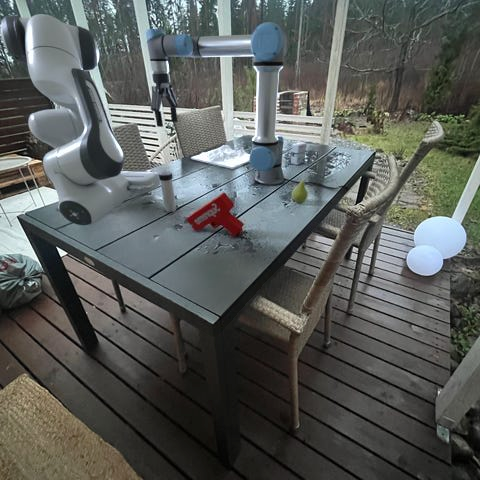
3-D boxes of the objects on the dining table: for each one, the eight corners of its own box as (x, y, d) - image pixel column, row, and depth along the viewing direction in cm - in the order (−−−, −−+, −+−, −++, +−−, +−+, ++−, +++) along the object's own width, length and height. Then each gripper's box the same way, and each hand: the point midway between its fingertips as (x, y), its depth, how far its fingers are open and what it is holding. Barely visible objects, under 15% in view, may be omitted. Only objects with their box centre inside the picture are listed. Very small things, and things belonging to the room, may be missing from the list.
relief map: (233, 169, 161) (232, 160, 158) (191, 159, 178) (190, 151, 176) (258, 158, 179) (258, 150, 176) (218, 150, 197) (217, 142, 194)
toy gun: (250, 225, 97) (225, 191, 93) (246, 231, 93) (220, 196, 89) (215, 244, 107) (191, 214, 103) (210, 250, 103) (185, 219, 99)
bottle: (163, 210, 115) (156, 174, 107) (170, 206, 119) (164, 171, 110) (171, 213, 113) (165, 176, 105) (178, 208, 117) (173, 173, 108)
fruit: (288, 200, 123) (290, 174, 116) (302, 197, 125) (305, 172, 119) (296, 206, 118) (299, 179, 111) (310, 203, 120) (314, 177, 114)
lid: (156, 179, 108) (155, 174, 106) (165, 175, 111) (164, 170, 110) (166, 181, 105) (165, 176, 104) (175, 177, 109) (174, 172, 108)
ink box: (298, 160, 174) (300, 141, 168) (304, 162, 171) (307, 142, 165) (290, 163, 169) (292, 143, 163) (296, 165, 166) (299, 145, 160)
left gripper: (146, 178, 71) (165, 162, 83) (75, 175, 74) (104, 160, 85) (150, 200, 74) (169, 182, 86) (82, 197, 77) (109, 180, 89)
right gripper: (167, 72, 132) (173, 119, 143) (136, 73, 112) (146, 128, 123) (181, 72, 130) (186, 120, 141) (151, 73, 110) (160, 129, 121)
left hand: (136, 171), depth 86 cm, fingers open, 8 cm apart
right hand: (167, 124), depth 132 cm, fingers open, 13 cm apart
